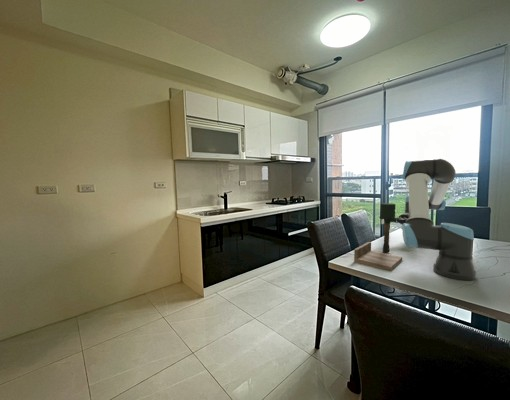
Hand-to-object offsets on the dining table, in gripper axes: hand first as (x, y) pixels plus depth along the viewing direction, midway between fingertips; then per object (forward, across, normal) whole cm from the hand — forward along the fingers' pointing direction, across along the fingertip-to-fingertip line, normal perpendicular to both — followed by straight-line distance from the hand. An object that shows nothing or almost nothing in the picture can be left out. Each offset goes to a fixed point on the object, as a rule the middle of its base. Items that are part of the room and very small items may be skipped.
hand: (393, 223), depth 143 cm
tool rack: (+28, -3, -16) cm, 33 cm away
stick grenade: (+10, 0, -17) cm, 19 cm away
